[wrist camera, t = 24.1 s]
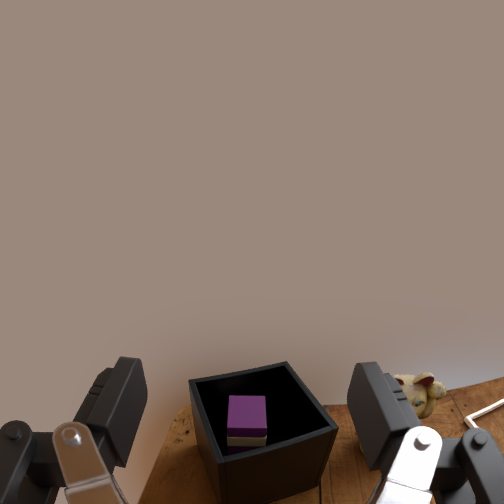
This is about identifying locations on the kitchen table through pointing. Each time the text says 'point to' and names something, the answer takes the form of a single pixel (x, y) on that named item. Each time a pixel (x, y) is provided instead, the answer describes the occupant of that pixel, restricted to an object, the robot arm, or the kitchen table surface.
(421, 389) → the decorative figurine
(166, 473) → the kitchen table surface
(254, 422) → the chocolate bar
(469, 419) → the photo frame
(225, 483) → the waste bin
